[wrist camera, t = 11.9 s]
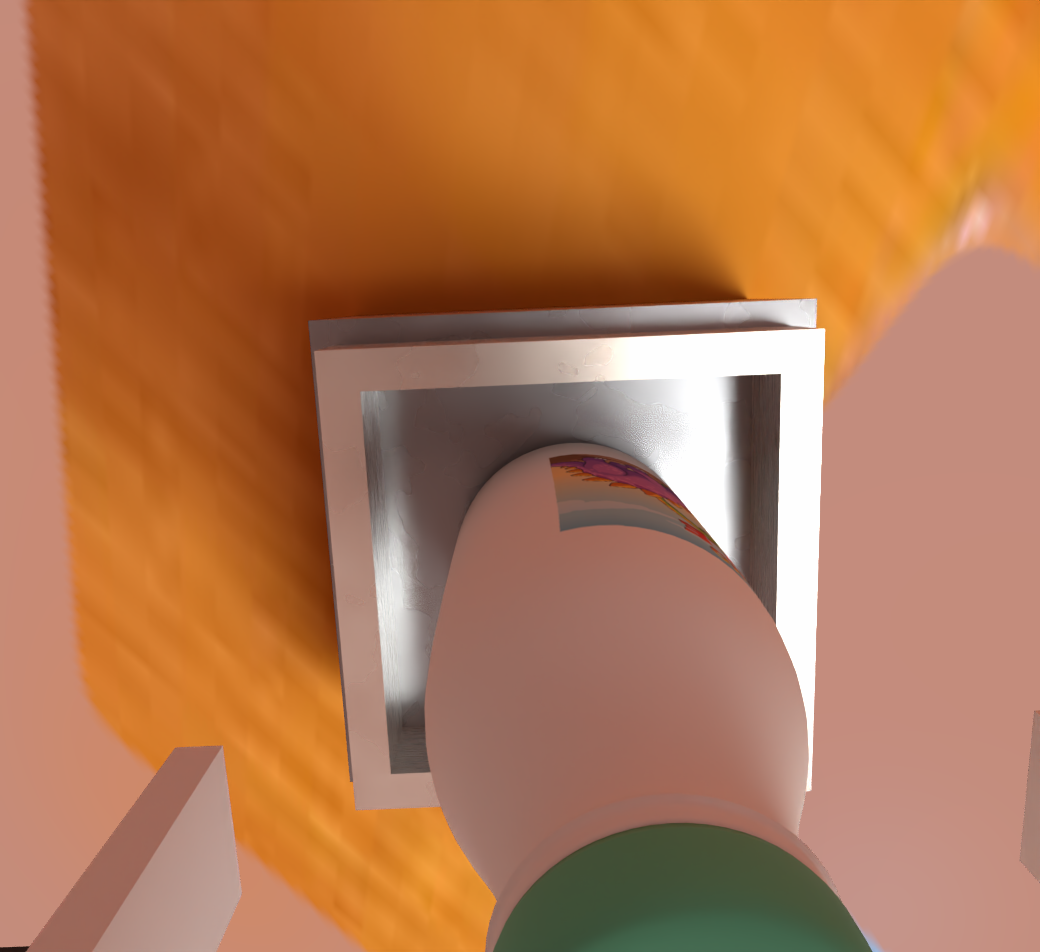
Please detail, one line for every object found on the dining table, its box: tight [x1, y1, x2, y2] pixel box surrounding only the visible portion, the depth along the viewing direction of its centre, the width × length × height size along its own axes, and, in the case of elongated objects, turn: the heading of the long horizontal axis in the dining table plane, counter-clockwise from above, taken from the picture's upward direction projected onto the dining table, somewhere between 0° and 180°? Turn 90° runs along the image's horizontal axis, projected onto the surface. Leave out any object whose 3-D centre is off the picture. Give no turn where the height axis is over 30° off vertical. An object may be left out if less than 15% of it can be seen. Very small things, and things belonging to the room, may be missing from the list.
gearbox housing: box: [308, 299, 825, 810], centre depth 31 cm, size 17×16×11 cm
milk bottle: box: [425, 443, 872, 952], centre depth 19 cm, size 8×8×20 cm
